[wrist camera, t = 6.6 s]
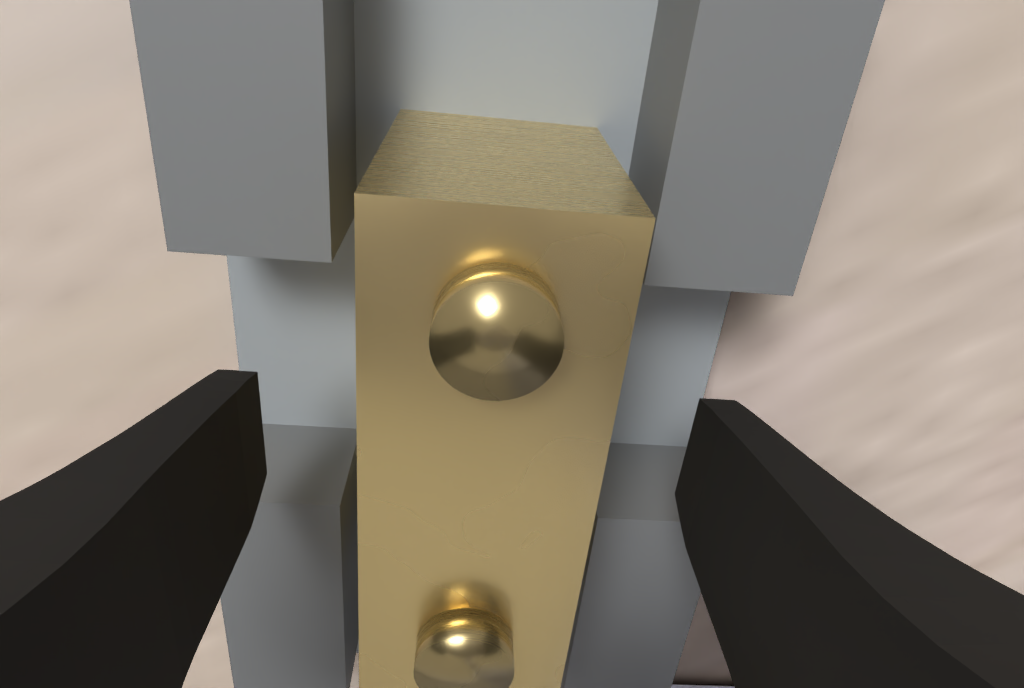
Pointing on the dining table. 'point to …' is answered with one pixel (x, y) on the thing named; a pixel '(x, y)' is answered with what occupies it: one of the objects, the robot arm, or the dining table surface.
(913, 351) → the dining table surface
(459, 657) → the link
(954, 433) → the dining table surface
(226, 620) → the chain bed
